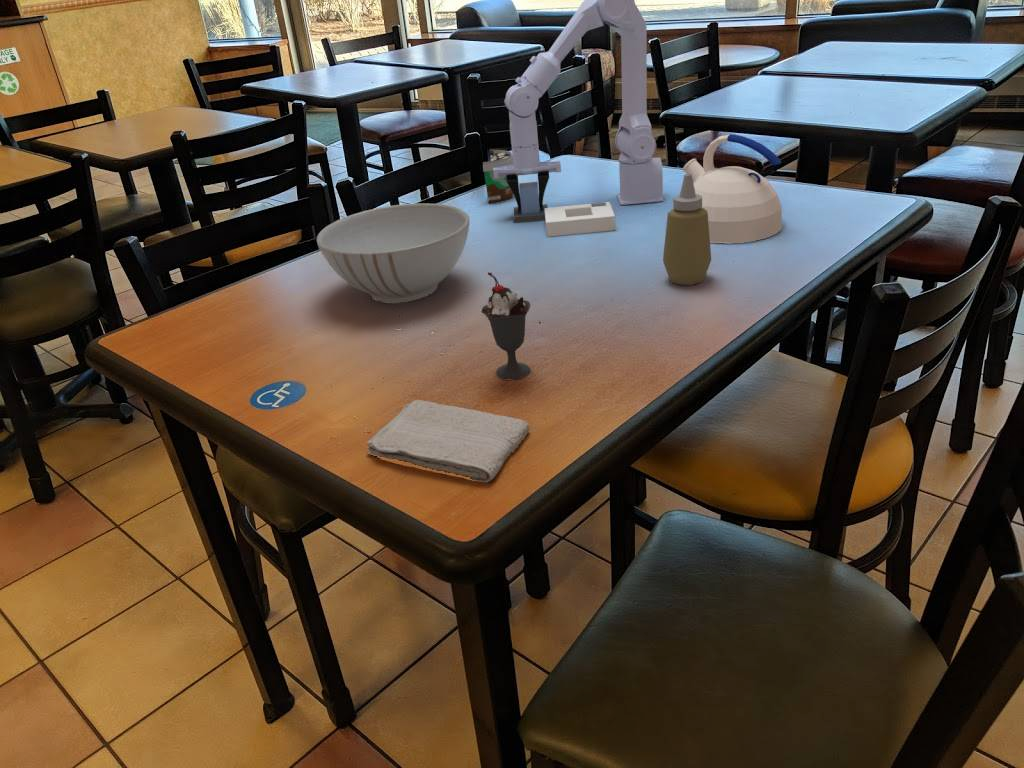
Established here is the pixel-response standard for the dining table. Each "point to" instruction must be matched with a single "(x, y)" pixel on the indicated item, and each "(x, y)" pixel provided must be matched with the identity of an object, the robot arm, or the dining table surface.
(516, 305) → the sundae
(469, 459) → the washcloth
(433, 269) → the decorative bowl
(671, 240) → the squeeze bottle
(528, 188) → the plug
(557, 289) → the dining table surface
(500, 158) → the food container
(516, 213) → the dark square tray
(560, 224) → the panel
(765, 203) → the kettle
